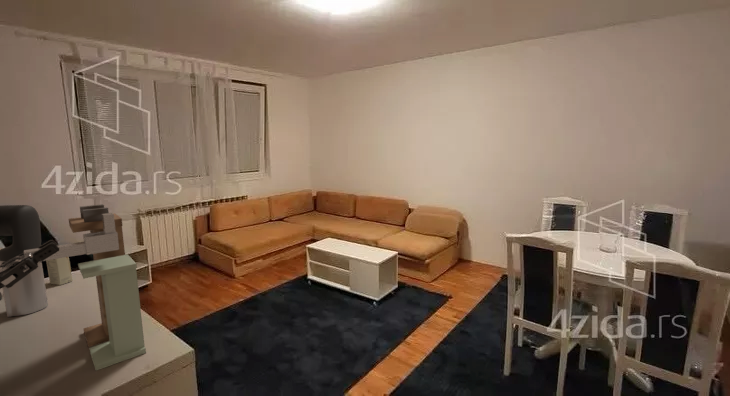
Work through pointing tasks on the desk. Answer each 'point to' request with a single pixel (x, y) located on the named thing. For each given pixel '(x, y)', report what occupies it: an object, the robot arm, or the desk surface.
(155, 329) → the desk surface
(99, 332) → the wooden pedestal post
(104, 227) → the grey stepped block
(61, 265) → the skincare box
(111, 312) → the green flanged bracket
